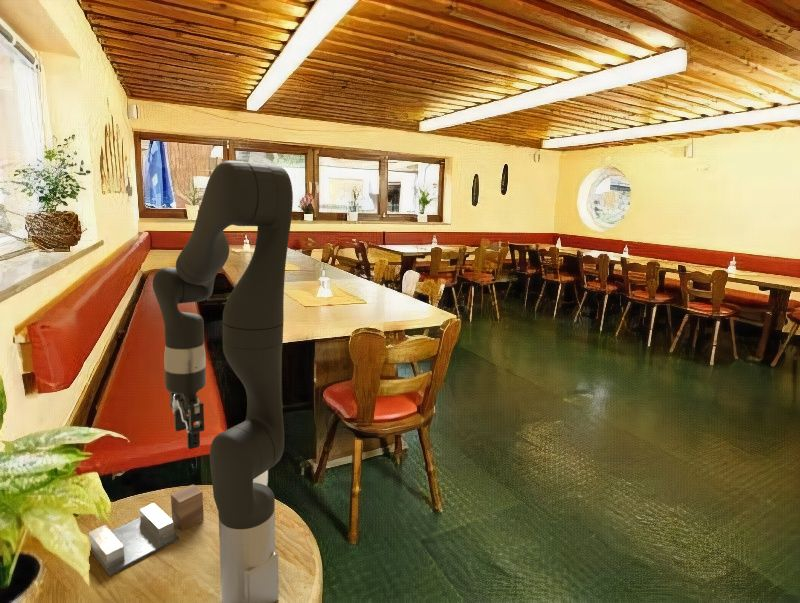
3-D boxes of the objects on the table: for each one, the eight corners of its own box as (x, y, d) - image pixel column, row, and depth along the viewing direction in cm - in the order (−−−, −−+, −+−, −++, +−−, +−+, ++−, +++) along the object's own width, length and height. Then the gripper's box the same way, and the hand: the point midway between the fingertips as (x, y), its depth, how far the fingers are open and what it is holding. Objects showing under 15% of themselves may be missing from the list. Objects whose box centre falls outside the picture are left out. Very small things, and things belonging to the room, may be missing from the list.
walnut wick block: (203, 519, 103) (202, 491, 101) (181, 531, 99) (179, 502, 97) (194, 511, 105) (193, 484, 104) (172, 522, 101) (170, 494, 100)
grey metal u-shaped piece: (178, 539, 97) (178, 524, 96) (109, 576, 87) (108, 559, 86) (152, 513, 104) (151, 499, 103) (86, 544, 94) (84, 529, 93)
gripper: (217, 373, 90) (217, 448, 94) (193, 351, 101) (194, 419, 104) (175, 381, 86) (177, 459, 89) (155, 357, 96) (158, 428, 100)
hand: (186, 438), depth 97 cm, fingers open, 8 cm apart
